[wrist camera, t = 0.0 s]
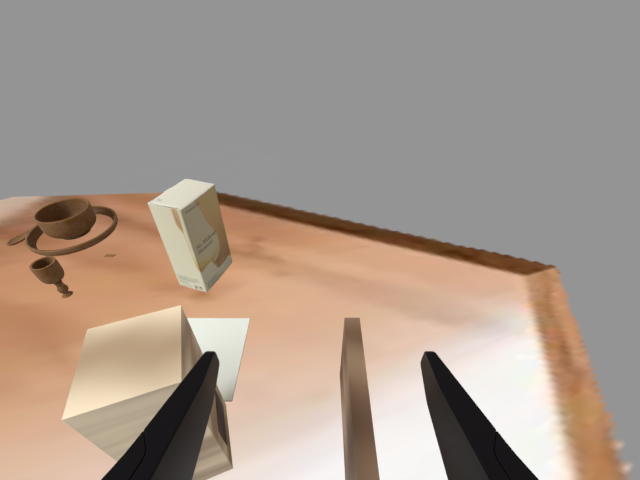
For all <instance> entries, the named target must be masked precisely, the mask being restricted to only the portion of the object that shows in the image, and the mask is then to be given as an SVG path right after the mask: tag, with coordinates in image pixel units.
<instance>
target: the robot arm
mask: <svg viewBox="0 0 640 480" xmlns="http://www.w3.org/2000/svg"><path fill="white" fill-rule="evenodd" d="M218 371H219V359H218V357H217V354H216V352H215V351H206V352H205V353H204V354H203V355H202V356H201V358H200V359H199V360H198V361H197V363H196V364H195V365H194V366H193V368H192V369H191V370H190V371H189V373H188V374H187V375H186V377H185V378H184V379H183V380H182V382H181V383H180V384H179V385H178V387H177V388H176V389H175V391H174V392H173V393H172V394H171V396H170V397H169V398H168V399H167V401H166V402H165V403H164V405H163V406H162V407H161V408H160V410H159V411H158V412H157V413H156V415H155V416H154V417H153V419H152V420H151V421H150V422H149V424H148V425H147V426H146V427H145V429H144V431H142V432H141V434H140V435H139V436H138V438H137V439H136V440H135V441H134V443H133V444H132V445H131V446H130V447H129V449H128V450H127V451H126V452H125V454H124V455H123V456H122V457H121V458H120V459H119V460H118V461H117V463H116V464H115V465H114V466H113V467H112V468H111V469H110V470H109V471H108V473H107V474H106V475H105V476H104V477H103V478H102V479H101V480H192V478H193V475H194V471H195V467H196V464H197V460H198V456H199V453H200V449H201V446H202V442H203V438H204V435H205V431H206V428H207V424H208V420H209V417H210V413H211V409H212V406H213V401H214V396H215V390H216V384H217V377H218ZM421 371H422V377H423V384H424V390H425V396H426V401H427V406H428V409H429V413H430V417H431V420H432V424H433V428H434V431H435V435H436V438H437V442H438V446H439V449H440V453H441V456H442V460H443V464H444V467H445V471H446V475H447V478H448V480H539V479H538V478H537V477H536V476H535V475H534V474H533V473H532V471H531V470H530V469H529V468H528V467H527V466H526V465H525V464H524V463H523V461H522V460H521V459H520V458H519V457H518V456H517V455H516V454H515V452H514V451H513V450H512V449H511V447H510V446H509V445H508V444H507V443H506V441H505V440H504V439H503V438H502V436H501V435H500V434H499V432H498V431H496V429H495V427H494V426H493V425H492V424H491V422H490V421H489V420H488V419H487V417H486V416H485V415H484V413H483V412H482V411H481V410H480V408H479V407H478V406H477V405H476V403H475V402H474V401H473V399H472V398H471V397H470V396H469V394H468V393H467V392H466V391H465V389H464V388H463V387H462V385H461V384H460V383H459V382H458V380H457V379H456V378H455V377H454V375H453V374H452V373H451V371H450V370H449V369H448V368H447V366H446V365H445V364H444V363H443V361H442V360H441V359H440V358H439V356H438V355H437V354H436V353H435V352H434V351H425V352H424V354H423V357H422V359H421Z"/></svg>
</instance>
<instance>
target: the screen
mask: <svg viewBox="0 0 640 480" xmlns="http://www.w3.org/2000/svg"><path fill="white" fill-rule="evenodd" d="M340 389H341V409H342V428H343V447H344V467H345V480H380V478H379V470H378V461H377V453H376V445H375V437H374V429H373V421H372V413H371V405H370V397H369V389H368V381H367V373H366V365H365V356H364V348H363V340H362V332H361V324H360V318H344V329H343V341H342V353H341V366H340Z"/></svg>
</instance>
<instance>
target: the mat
mask: <svg viewBox="0 0 640 480" xmlns="http://www.w3.org/2000/svg"><path fill="white" fill-rule="evenodd" d="M187 319H188V322H189V324H190V326H191V328H192V331H193V333H194V335H195V337H196V340H197V342H198V344H199V346H200V348H201V351H202V353H203V354H204V353H205V352H206V351H215V352H216V354H217V357H218V359H219V371H218V377H217V386H218V389H219V391H220V393H221V395H222V397H223V400H224V402H232V400H233V396H234V391H235V387H236V382H237V377H238V373H239V368H240V364H241V359H242V355H243V350H244V345H245V341H246V336H247V332H248V327H249V323H250V318H187Z"/></svg>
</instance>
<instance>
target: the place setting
mask: <svg viewBox="0 0 640 480" xmlns="http://www.w3.org/2000/svg"><path fill="white" fill-rule="evenodd" d="M96 214H101V215H106V216H109V217H110V218H111V219H112V220H113V222H112V224H111V225H110V226H109V227H108V228H107V229H106V230H105V231H104V232H102V233H101V234H99V235H98V236H96V237H94V238H92V239H90V240H88V241H86V242H84V243H81V244H78V245H75V246H72V247H68V248H64V249H58V250H39V249H38V248H37V246H36V243H37V240H38V239H39V237H40V236H41V235H42V234H43V233H45V234H46V235H48V236H50V237H52V238H57V239H65V240H73V239H77V238H80V237H82V236H84V235H86V234H87V233H89V232H90V230H91V228H92V227H93V226H94V224H95V222H96ZM34 221H35V222H36V223H37V225H35V226H34V227H32V228H31V229H29V230H28V231H26V232H25V233H23V234H20V235H18V236H16V237H14V238H12V239H10V240H9V241H8V242H7V246H12V245H16V244H18V243H20V242H22V241H23V240H25V245H26V246H27V247H28V248H29V249H30V250H31V251H32V252H34V253H36V254H39V255H44V256H45V257H42V258H39V259H37V260H35V261H34V262H33V263H31V265H30V266H29V268H30V270H31V271H32V273H33V274H34V275H35V276H36V277H37V278H38V279H39V280H40V281H41V282H43V283H45V284H54V285H55V286H56V287H57V291H58V292H59V293H63V295H62V298H68V297H70V296H71V295H72V294H73V291H68V289H69V288H68V286H67V285H66V284H64V283H63V282H62V279H63V277H64V270H63V268H62V266H61V265H60V263H59V262H58V261H57V259H56V258H55V257H53V256H62V255H68V254H72V253H76V252H79V251H82V250H85V249H87V248H90V247H92V246H94V245H96V244H98V243H99V242H101V241H103V240H104V239H106V238H107V237H108V236H109V235H110V234H111V233H112V232H113V231H114V230H115V228H116V226H117V223H118V218H117V215H116V213H115V211H114V210H112V209H111V208H108V207H104V206H91V204H90V202H89V201H88V200H87V199H83V198H68V199H63V200H59V201H56V202H53V203H50V204H48V205H46V206H44V207H42V208H41V209H40V210H38V211H37V212H36V213H35V215H34ZM107 255H108V254H107ZM107 255H106V256H107ZM110 255H111V254H110ZM110 255H108V256H110ZM112 255H113V254H112ZM112 255H111V256H112ZM115 255H116V254H115ZM115 255H113V256H115ZM106 256H104V257H106ZM108 256H107V257H108ZM111 256H110V257H111ZM113 256H112V257H113Z"/></svg>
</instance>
